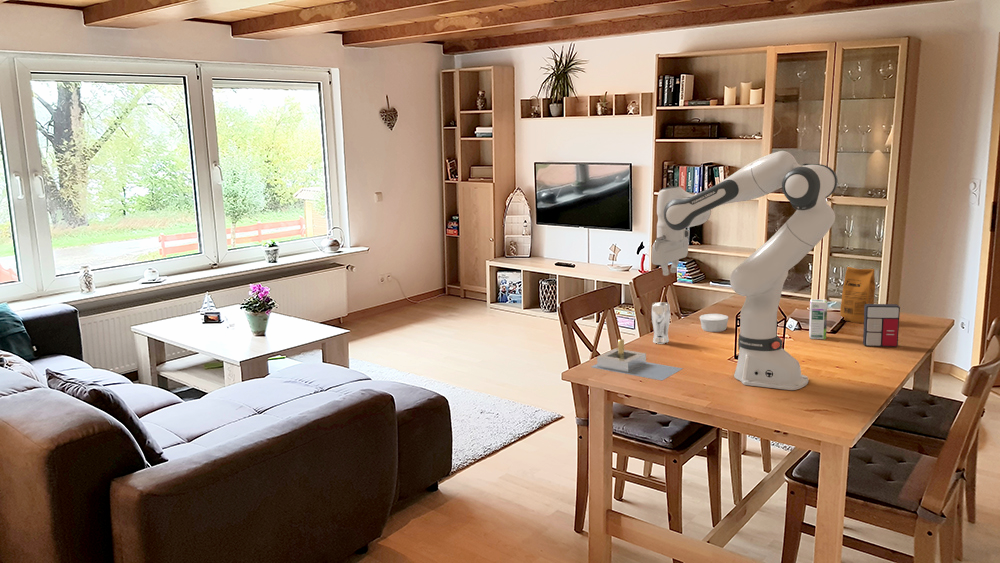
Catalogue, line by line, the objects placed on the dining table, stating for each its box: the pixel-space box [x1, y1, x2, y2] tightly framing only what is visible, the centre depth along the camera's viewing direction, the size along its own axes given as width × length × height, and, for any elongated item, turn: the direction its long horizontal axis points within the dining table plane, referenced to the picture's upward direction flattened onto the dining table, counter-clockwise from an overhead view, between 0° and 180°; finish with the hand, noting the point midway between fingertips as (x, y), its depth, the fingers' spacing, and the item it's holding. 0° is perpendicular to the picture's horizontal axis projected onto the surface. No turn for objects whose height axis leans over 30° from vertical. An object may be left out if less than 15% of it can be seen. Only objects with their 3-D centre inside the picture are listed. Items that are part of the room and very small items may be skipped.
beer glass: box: [651, 301, 671, 345], centre depth 290 cm, size 7×7×15 cm
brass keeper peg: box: [617, 338, 625, 359], centre depth 258 cm, size 4×4×9 cm
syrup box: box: [808, 298, 828, 340], centre depth 287 cm, size 6×6×14 cm
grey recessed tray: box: [596, 348, 647, 373], centre depth 259 cm, size 12×12×4 cm
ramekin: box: [699, 313, 729, 333], centre depth 306 cm, size 11×11×5 cm
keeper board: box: [590, 361, 684, 381], centre depth 256 cm, size 27×15×2 cm, turn 50°
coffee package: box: [839, 266, 876, 324], centre depth 309 cm, size 10×12×22 cm
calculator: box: [862, 303, 901, 348], centre depth 273 cm, size 11×4×15 cm, turn 76°
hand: (669, 273), depth 261 cm, fingers open, 4 cm apart
